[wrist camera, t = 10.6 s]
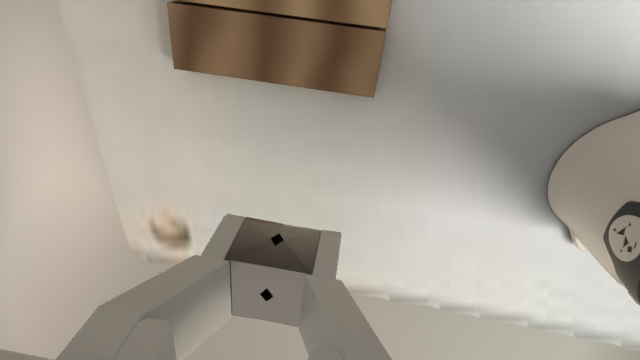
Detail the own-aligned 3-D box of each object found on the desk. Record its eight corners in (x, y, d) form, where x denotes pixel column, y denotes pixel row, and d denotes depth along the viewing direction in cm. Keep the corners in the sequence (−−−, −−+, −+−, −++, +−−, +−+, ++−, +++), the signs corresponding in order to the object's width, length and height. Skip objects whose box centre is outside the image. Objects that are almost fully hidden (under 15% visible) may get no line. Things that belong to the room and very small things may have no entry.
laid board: (385, 29, 33) (385, 31, 32) (373, 92, 37) (373, 97, 35) (175, 0, 35) (167, 2, 33) (181, 64, 38) (174, 68, 36)
